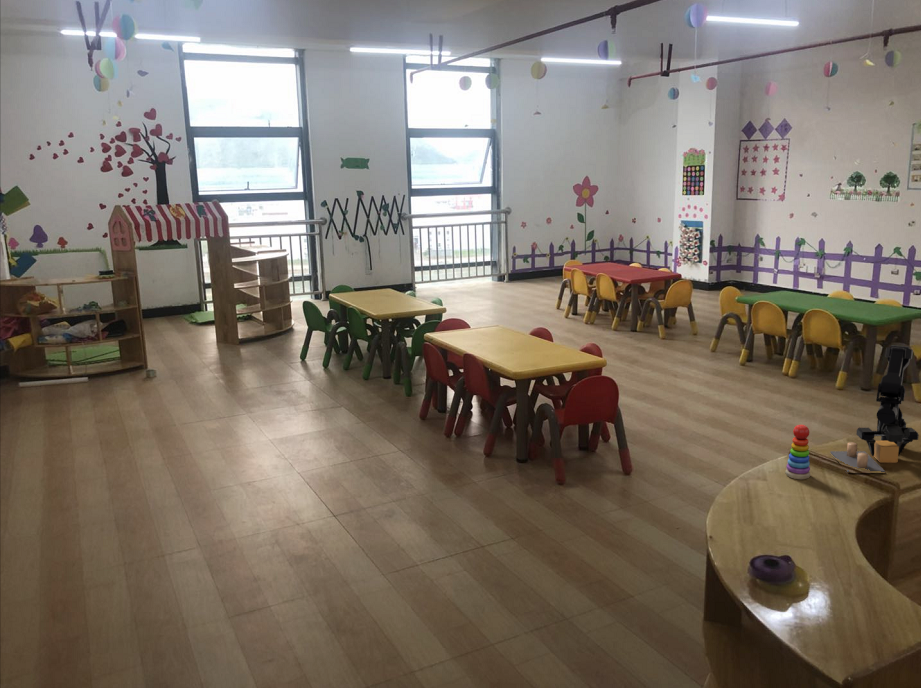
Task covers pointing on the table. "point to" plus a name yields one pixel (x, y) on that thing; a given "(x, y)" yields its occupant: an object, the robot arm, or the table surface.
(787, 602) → the table surface
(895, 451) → the natural wood cube
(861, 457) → the plate
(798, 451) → the stacking toy
